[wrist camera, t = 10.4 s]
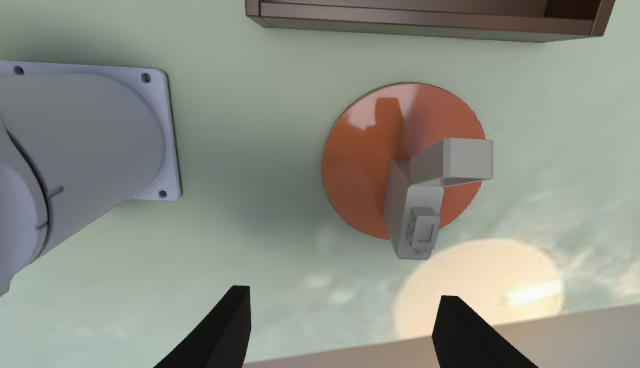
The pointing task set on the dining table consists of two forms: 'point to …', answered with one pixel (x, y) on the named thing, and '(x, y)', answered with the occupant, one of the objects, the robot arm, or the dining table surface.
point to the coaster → (392, 149)
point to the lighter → (429, 190)
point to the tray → (441, 17)
